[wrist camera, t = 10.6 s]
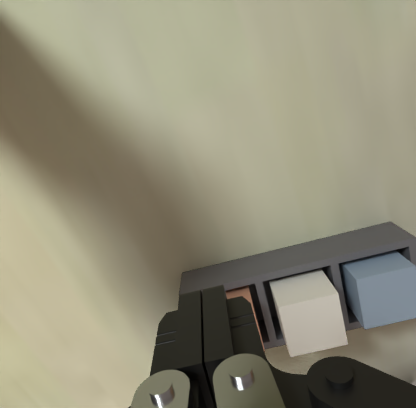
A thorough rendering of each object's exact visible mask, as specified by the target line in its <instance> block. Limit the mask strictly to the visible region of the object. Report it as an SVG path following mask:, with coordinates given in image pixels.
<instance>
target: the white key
mask: <svg viewBox="0 0 416 408" xmlns="http://www.w3.org/2000/svg"><path fill="white" fill-rule="evenodd" d="M269 283H270V287H271V291H272V295H273V299H274V303H275V308H276V312H277V316H278V320H279V324H280V327H281V331H282V334H283V337H284V340H285V343H286V346H287V349H288V352H289V355H290V357H294V356H298V355H303V354H307V353H312V352H316V351H321V350H325V349H330V348H334V347H339V346H343V345H348V341H347V336H346V331H345V326H344V321H343V315H342V310H341V305H340V300H339V294H338V292H337V291H336V289H335V288H334V286H333V285H332V284H331V282H330V281H329V279H328V278H327V276H326V275H325V274H324V272H323V271H322V269H319V270H315V271H311V272H307V273H303V274H298V275H294V276H290V277H286V278H282V279H278V280H273V281H269Z"/></svg>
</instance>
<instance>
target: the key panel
mask: <svg viewBox="0 0 416 408" xmlns="http://www.w3.org/2000/svg"><path fill="white" fill-rule="evenodd" d="M392 250H396V251H397V252H398V253H400V254H401V255H402V256H403V257H405V258H406V259H407V260H409V261H410V262H411V263H413V264H414V265H415V266H416V237H415V236H413V235H411V234H410V233H408V232H407V231H405V230H403V229H402V228H400V227H399V226H397V225H395V224H394V223H392V222H387V223H383V224H379V225H375V226H371V227H367V228H362V229H358V230H354V231H350V232H346V233H342V234H338V235H334V236H330V237H326V238H322V239H318V240H314V241H310V242H306V243H301V244H297V245H293V246H289V247H285V248H281V249H277V250H273V251H269V252H265V253H261V254H257V255H253V256H249V257H244V258H240V259H236V260H232V261H228V262H224V263H220V264H216V265H212V266H208V267H204V268H200V269H196V270H192V271H188V272H183V273H182V278H181V284H180V290H179V295H180V294H184V293H188V292H193V291H197V290H201V291H202V289H206V288H210V287H215V286H219V285H224V288H225V291H226V290H230V289H234V288H238V287H242V286H246V285H249V289H250V293H251V297H252V301H253V304H254V308H255V312H256V316H257V320H258V323H259V328H260V332H261V336H262V341H263V345H264V349H268V348H272V347H277V346H281V345H286V343H285V340H284V337H283V334H282V331H281V327H280V324H279V320H278V316H277V312H276V308H275V303H274V299H273V295H272V291H271V287H270V283H269V281H273V280H278V279H282V278H286V277H290V276H294V275H298V274H303V273H307V272H311V271H315V270H319V269H322V271H323V272H324V274H325V275H326V276H327V278H328V279H329V281H330V282H331V284H332V285H333V286H334V288H335V289H336V291H337V292H338V294H339V300H340V305H341V310H342V315H343V321H344V326H345V331H347V330H352V329H356V328H361V327H363V326H362V325H361V323H360V322H359V321H358V319H357V318H356V316H355V315H354V313H353V312H352V311H351V309H350V308H349V306H348V305H347V304H346V301H345V296H344V290H343V285H342V280H341V274H340V269H339V263H342V262H346V261H350V260H355V259H359V258H363V257H367V256H371V255H375V254H380V253H384V252H388V251H392Z"/></svg>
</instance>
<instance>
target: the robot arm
mask: <svg viewBox="0 0 416 408" xmlns="http://www.w3.org/2000/svg"><path fill="white" fill-rule="evenodd" d="M155 344H156V346H155V349H154V355H153V360H152V366H151V372H150V377H148V378H147V379H146V380H144V381H143V382H142V383H141V384H140V386H139V387H138V388H137V390H136V392H135V394H134V397H133V401H132V404H131V406H130V407H129V408H416V386H414V385H412V384H410V383H407V382H405V381H403V380H400V379H398V378H396V377H393V376H391V375H389V374H386V373H384V372H382V371H380V370H377V369H375V368H373V367H370V366H368V365H366V364H363V363H361V362H359V361H357V360H354V359H351V358H347V357H340V356H334V357H328V358H324V359H321V360H319V361H317V362H316V363H315V364H313V365H312V366H311V368H310V369H309V371H308V373H307V375H301V374H290V373H285V372H282V371H280V370H278V369H276V368H275V367H273V366H272V365H271V364H270V363H269V362H268V360H267V359H266V356H265V353H264V349H263V345H262V342H261V338H260V335H259V331H258V327H257V324H256V320H255V316H254V313H253V309H252V306H251V303H250V302H249V301H248V300H247V299H245V298H244V297H243V296H239V297H235V298H230V299H227V296H226V292H225V288H224V285H219V286H215V287H210V288H206V289H202V291H201V290H197V291H193V292H188V293H184V294H180V295H179V304H178V310H177V311H172V312H168V313H166V314H165V316H164V317H163V318H162V320H161V321H160V323H159V326H158V331H157V337H156V343H155Z"/></svg>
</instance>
